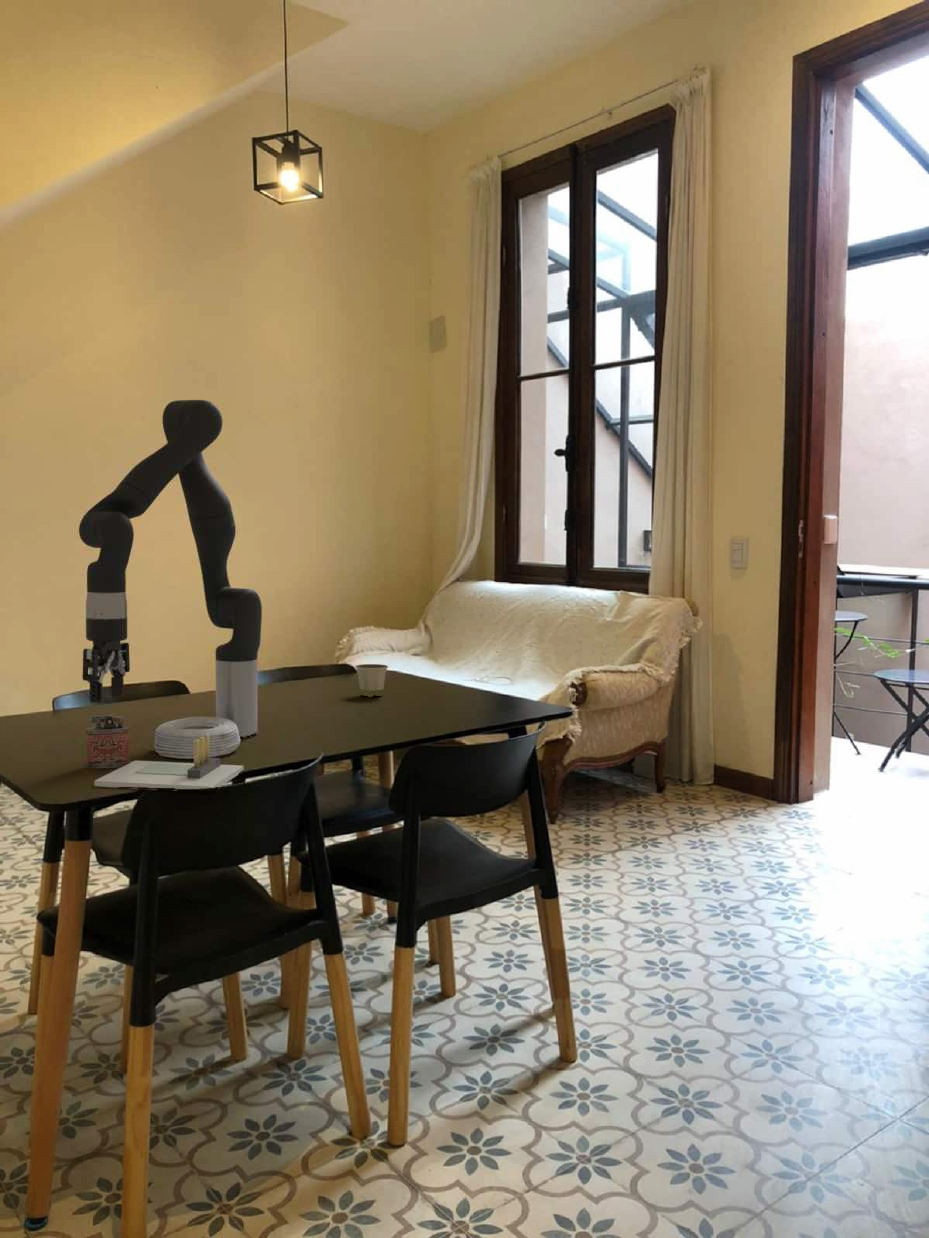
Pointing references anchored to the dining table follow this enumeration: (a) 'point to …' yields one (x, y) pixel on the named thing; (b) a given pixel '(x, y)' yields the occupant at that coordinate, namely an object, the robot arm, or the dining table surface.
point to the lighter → (107, 742)
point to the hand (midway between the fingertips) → (107, 698)
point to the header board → (174, 772)
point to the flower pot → (371, 676)
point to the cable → (196, 736)
